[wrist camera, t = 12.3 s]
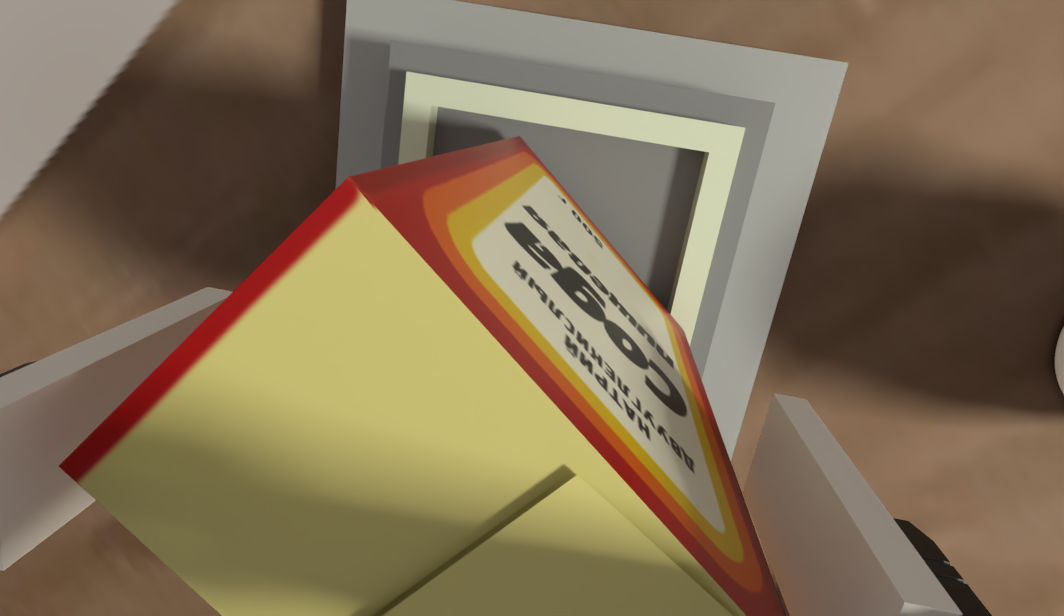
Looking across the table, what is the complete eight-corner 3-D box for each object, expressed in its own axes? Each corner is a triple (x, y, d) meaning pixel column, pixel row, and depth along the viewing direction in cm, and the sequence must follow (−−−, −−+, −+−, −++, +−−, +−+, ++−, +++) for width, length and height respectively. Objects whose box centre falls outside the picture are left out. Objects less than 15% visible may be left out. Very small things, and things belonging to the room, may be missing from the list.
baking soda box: (394, 250, 24) (36, 479, 9) (519, 135, 22) (334, 179, 7) (554, 425, 26) (477, 877, 10) (683, 330, 24) (818, 710, 9)
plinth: (337, 403, 33) (282, 462, 28) (366, -8, 27) (302, -40, 22) (712, 478, 32) (734, 556, 26) (830, 66, 26) (893, 53, 20)
